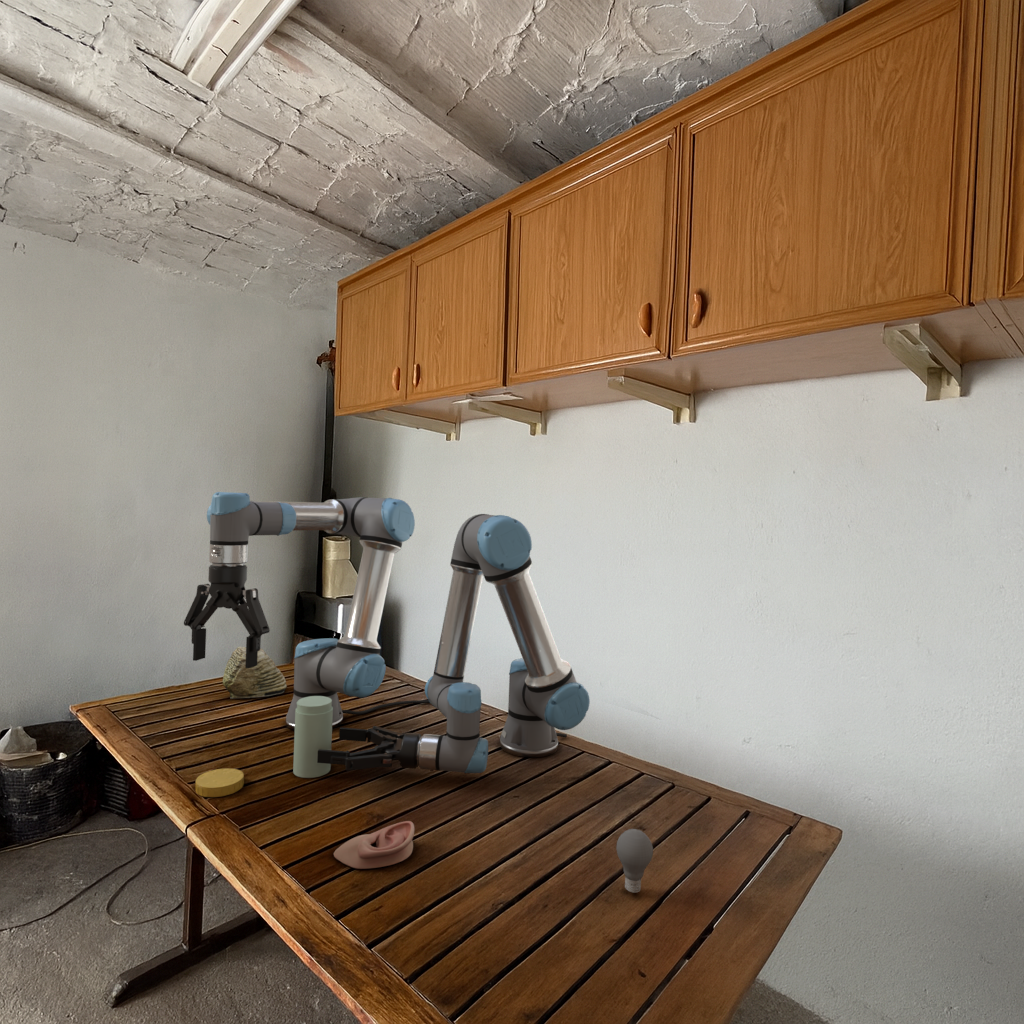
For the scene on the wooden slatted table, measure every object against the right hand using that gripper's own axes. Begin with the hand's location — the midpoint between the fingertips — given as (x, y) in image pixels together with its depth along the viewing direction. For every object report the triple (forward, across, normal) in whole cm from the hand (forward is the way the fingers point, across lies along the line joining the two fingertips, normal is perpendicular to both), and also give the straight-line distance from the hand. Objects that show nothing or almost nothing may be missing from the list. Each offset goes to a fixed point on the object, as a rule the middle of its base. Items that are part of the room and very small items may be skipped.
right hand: (329, 744), depth 146 cm
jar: (+4, 0, -6) cm, 7 cm away
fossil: (+42, +49, -6) cm, 65 cm away
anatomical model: (-20, -31, -6) cm, 38 cm away
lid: (+20, -12, -5) cm, 23 cm away
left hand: (+20, -11, +20) cm, 31 cm away
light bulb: (-66, -35, -6) cm, 75 cm away
